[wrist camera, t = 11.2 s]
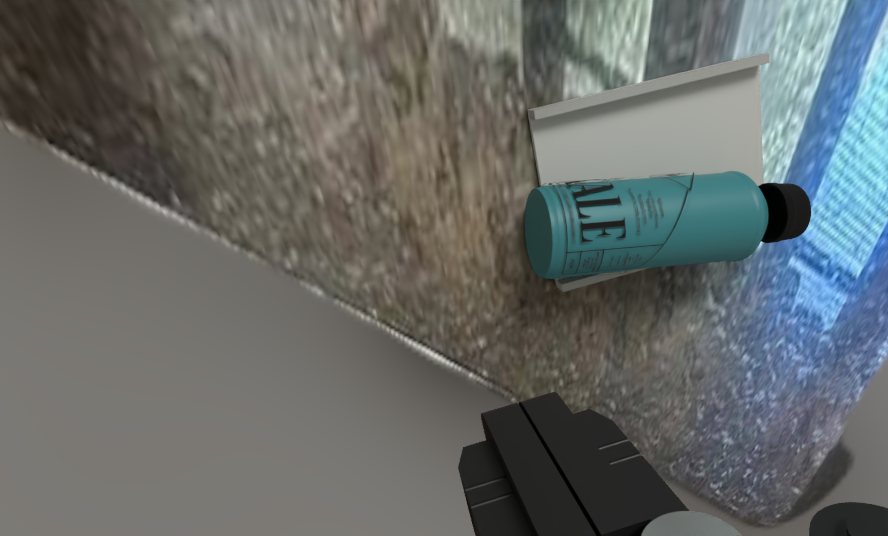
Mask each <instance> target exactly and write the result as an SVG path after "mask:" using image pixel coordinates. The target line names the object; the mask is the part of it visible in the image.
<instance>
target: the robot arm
mask: <svg viewBox="0 0 888 536" xmlns="http://www.w3.org/2000/svg"><path fill="white" fill-rule="evenodd" d="M481 419H482V424H483V429H484V433H485V437H486V441H482V442H479V443H476V444H473V445H469V446H466V447H463V450H462V454H461V458H460V463H459V467H458V469H459V473H460V477H461V481H462V485H463V489H464V493H465V497H466V501H467V505H468V508H469V513H470V517H471V521H472V524H473V528H474V532H475V535H476V536H742V535H741V534H739V532H737V531H736V530H735V529H734V528H733V527H732V526H730V525H729V524H727V523H726V522H724V521H722V520H720V519H718V518H716V517H714V516H711V515H707V514H704V513H699V512H692V511H689V510H688V509H687V508H686V506H685V505H684V504H683V503H682V502H681V501H680V500H679V498H678V497H677V496H676V495H675V494H674V492H673V491H672V490H671V489H670V488H669V487H668V485H667V484H666V483H665V482H664V481H663V479H662V478H661V477H660V476H659V475H658V474H657V472H656V471H655V470H654V469H653V468H652V466H651V465H650V464H649V463H648V462H647V461H646V459H645V458H644V457H643V456H641V455H640V453H639V451H638V450H637V449H636V448H635V446H634V445H633V444H632V443H631V442H630V441H628V439H627V437H626V436H625V435H624V434H623V432H622V431H621V430H620V429H619V428H618V426H617V425H616V424H615V423H614V422H613V421H612V420H610V419H608V418H606V417H604V416H603V415H601V414H599V413H597V412H595V411H593V410H591V409H588V410H585V411H582V412H578V413H575V414H572V412H571V411H570V410H569V408H568V407H567V406H566V404H565V403H564V401H563V400H562V399H561V397H560V396H559V395H558V394H557V393H556V392H552V393H549V394H545V395H542V396H539V397H535V398H532V399H529V400H525V401H522V402H519V404H518V403H515V404H511V405H508V406H505V407H502V408H498V409H495V410H491V411H488V412H485V413H482V414H481ZM809 529H810V530H809V536H888V508H885V507H881V506H876V505H872V504H866V503H856V502H848V503H838V504H834V505H830V506H827V507H825V508H823V509H822V510H820V511H818V512H817V513H816V514H815V515H814V517H813V518H812V520H811V522H810V528H809Z"/></svg>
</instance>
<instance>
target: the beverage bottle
mask: <svg viewBox="0 0 888 536" xmlns="http://www.w3.org/2000/svg"><path fill="white" fill-rule="evenodd" d="M678 174H686V173H678ZM678 174H676V175H677V176H676V175H674V174H669V175H668V174H665V175H664V174H663V175H662V176H659V177H653V178H652V177H651V176H650V177H651V178H641V179H632V178H631V179H628V180H621V179H622V178H623V177H622V178H621V179H618V178H617V179H618V180H616V179H615V180H613V181H608V180H605V179H604V180H605V181H604V180H603V181H601V182H587V183H582V182H581V181H588V180H581V181H574V182H572V181H568V182H566V183H565V182H563V183H565V184H560V185H558V184H557V183H556V182H555V183H556V184H557V185H552V184H551V183H549V185H547V186H543V185H544V184H543V185H542V186H540V187H538V188H535V189H533V190H532V191H531V192H530V194H529V196H528V199H527V203H526V210H525V238H526V246H527V252H528V256H529V259H530V263H531V265H532V268H533V270H534V272H535V273H536V274H537V275H538V276H539V277H541V278H547V279H550V280H551V279H555V278H559V279H561V278H563V279H564V277H567V278H568V277H570V278H571V279H572V277H575V276H584V275H593V274H603V273H613V272H621V271H625V273H626V271H630V270H635V269H644V268H655V267H666V266H676V265H687V264H698V263H709V262H719V261H739V260H743V259H745V258H747V257H748V256H750V255H751V254H752V253H753V252H754V251H755V250H756V248H757V247H758V245H759V244H760V242H761V241H762V242H765V243H772V242H779V241H781V240H787V239H792V238H796V237H798V236H800V235H801V234H802V233H803V232H804V231H805V230H806V228H807V227H808V224H809V222H810V217H811V205H810V201H809V198H808V196H807V194H806V193H805V191H804V190H803V189H802V188H800V187H799V186H797V185H794V184H778V183H765V184H761V185H759V186H757V185H756V183H755V182H754V181H753V180H752V179H751V178H750V177H748V176H747V175H746V174H744V173H741V172H738V171H727V172H723V173H714V174H702V175H694V172H693V175H682V176H678ZM666 175H667V176H668V177H663V176H666ZM639 177H640V176H639ZM635 178H636V177H635ZM612 179H614V178H612ZM595 180H600V179H595ZM609 180H610V179H609ZM576 182H577V183H576ZM578 182H579V183H578ZM580 182H581V183H580ZM559 183H560V182H559ZM571 183H574V184H571ZM545 184H546V183H545ZM618 274H620V273H618ZM608 275H610V274H608ZM599 276H601V275H599ZM584 277H586V276H584ZM590 277H591V276H590ZM580 278H582V277H580ZM563 279H561V280H563Z"/></svg>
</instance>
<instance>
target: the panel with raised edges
mask: <svg viewBox="0 0 888 536" xmlns="http://www.w3.org/2000/svg"><path fill="white" fill-rule="evenodd" d="M766 63H769V54H759V55H752V56H748V57H744V58H740V59H736V60H732V61H728V62H723V63H719V64H715V65H711V66H707V67H703V68H699V69H695V70H690V71H686V72H682V73H678V74H674V75H670V76H666V77H661V78H657V79H653V80H649V81H645V82H641V83H637V84H633V85H628V86H624V87H620V88H616V89H612V90H608V91H604V92H599V93H595V94H591V95H587V96H583V97H579V98H575V99H571V100H566V101H562V102H558V103H554V104H550V105H546V106H542V107H538V108H533V109H529V110H527V112H528V118H529V125H530V131H531V137H532V143H533V149H534V155H535V161H536V167H537V173H538V179H539V186H542V185H543V184H544V185H543V186H547V185H549V183H551V184H552V185H557V184H558V185H560V184H565V183H566V182H568V181H572V182H574V181H581V180H588V181H581V182H582V183H587V182H601V181H603V180H604V179H605V180H608V181H613V180H615V179H616V180H618V179H621V178H622V177H623V178H622V179H621V180H628V179H631V178H632V179H641V178H651V177H652V178H653V177H659V176H662V175H663V174H664V175H665V174H668V175H669V174H674V175H676V174H678V173H686V174H678V176H682V175H693V172H694V175H702V174H714V173H723V172H727V171H738V172H741V173H744V174H746V175H747V176H748V177H750V178H751V179H752V180H753V181H754V182H755V183H756V185H757V186H759V185H761V184H763V158H762V129H761V99H760V70H759V65H762V64H766ZM639 176H640V177H639ZM650 176H651V177H650ZM676 176H677V175H676ZM635 177H636V178H635ZM663 177H668V176H667V175H666V176H663ZM612 178H614V179H612ZM617 178H618V179H617ZM595 179H600V180H595ZM609 179H610V180H609ZM605 180H604V181H605ZM555 182H556V183H557V184H556V183H555ZM559 182H560V183H559ZM563 182H565V183H563ZM581 182H580V183H581ZM545 183H546V184H545ZM576 183H577V182H576ZM578 183H579V182H578ZM571 184H574V183H571ZM644 269H648V268H644ZM644 269H635V270H630V271H626V273H625V271H621V272H613V273H603V274H593V275H584V276H586V277H584V276H575V277H572V279H571V278H570V277H568V278H567V277H564V279H563V278H561V279H563V280H561V279H559V278H555V283H556V287H558V288H559V289H560V290H561V291H562V292H565V291H569V290H573V289H576V288H580V287H583V286H587V285H590V284H594V283H598V282H601V281H605V280H608V279H612V278H616V277H619V276H623V275H626V274H630V273H633V272H637V271H641V270H644ZM618 273H620V274H618ZM608 274H610V275H608ZM599 275H601V276H599ZM590 276H591V277H590ZM580 277H582V278H580Z"/></svg>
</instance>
